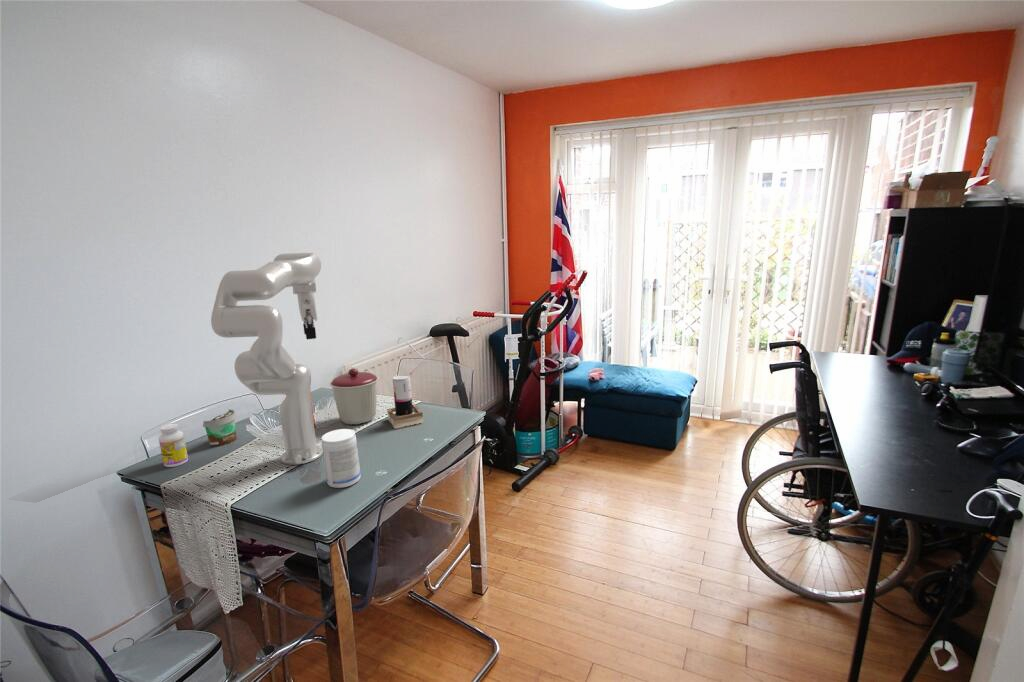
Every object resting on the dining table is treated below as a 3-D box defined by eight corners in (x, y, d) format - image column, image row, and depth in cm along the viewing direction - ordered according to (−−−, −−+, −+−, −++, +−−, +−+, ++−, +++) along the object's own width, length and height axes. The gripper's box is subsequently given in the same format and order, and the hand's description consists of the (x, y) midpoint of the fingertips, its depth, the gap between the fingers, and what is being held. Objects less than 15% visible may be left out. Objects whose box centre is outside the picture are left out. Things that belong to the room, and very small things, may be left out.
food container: (222, 449, 164) (217, 422, 161) (207, 448, 165) (202, 421, 163) (248, 435, 175) (244, 409, 173) (233, 434, 177) (229, 408, 174)
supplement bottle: (159, 466, 153) (151, 429, 150) (179, 457, 159) (172, 421, 156) (173, 469, 150) (165, 431, 147) (193, 459, 156) (186, 423, 154)
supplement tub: (367, 476, 142) (363, 431, 139) (344, 492, 134) (339, 444, 131) (343, 470, 146) (338, 426, 143) (319, 485, 138) (313, 438, 135)
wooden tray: (423, 423, 182) (422, 412, 181) (394, 428, 177) (393, 418, 176) (415, 413, 192) (414, 404, 191) (388, 419, 187) (387, 409, 186)
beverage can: (393, 417, 181) (390, 379, 177) (398, 411, 187) (395, 374, 184) (410, 416, 180) (407, 379, 177) (414, 410, 187) (411, 374, 184)
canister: (386, 410, 196) (381, 361, 192) (376, 427, 179) (371, 374, 174) (341, 412, 195) (336, 363, 191) (328, 430, 178) (321, 376, 173)
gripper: (318, 290, 160) (323, 339, 164) (313, 286, 175) (319, 331, 179) (294, 291, 157) (300, 342, 160) (291, 287, 172) (297, 333, 176)
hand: (310, 336), depth 170 cm, fingers open, 9 cm apart
